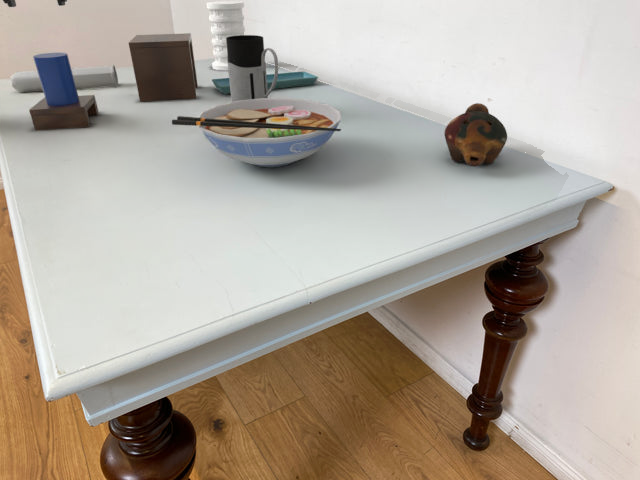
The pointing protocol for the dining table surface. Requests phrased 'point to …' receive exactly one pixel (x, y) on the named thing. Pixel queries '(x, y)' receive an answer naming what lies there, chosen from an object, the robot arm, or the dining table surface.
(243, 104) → the ramen bowl
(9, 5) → the robot arm
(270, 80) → the teal serving tray
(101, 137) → the dining table surface
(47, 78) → the can
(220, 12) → the decorative container
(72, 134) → the dining table surface
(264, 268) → the dining table surface
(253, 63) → the glass holder
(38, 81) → the tube
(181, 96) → the brown block
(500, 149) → the decorative turtle
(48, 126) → the low shelf
